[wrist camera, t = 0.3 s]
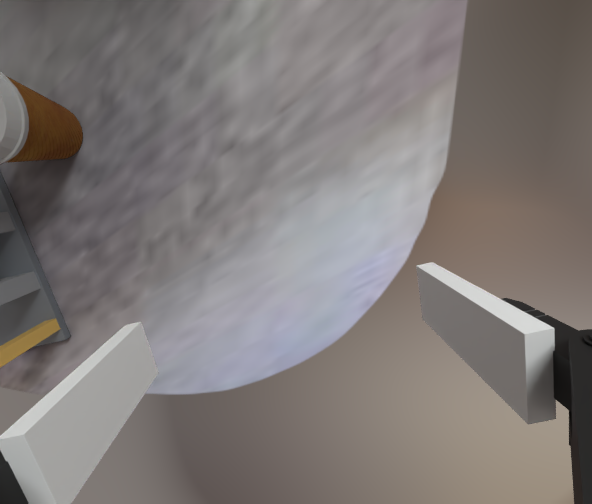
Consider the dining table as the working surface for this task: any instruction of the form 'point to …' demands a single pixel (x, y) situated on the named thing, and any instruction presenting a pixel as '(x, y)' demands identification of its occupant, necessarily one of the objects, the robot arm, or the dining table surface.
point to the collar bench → (18, 264)
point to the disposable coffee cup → (34, 125)
